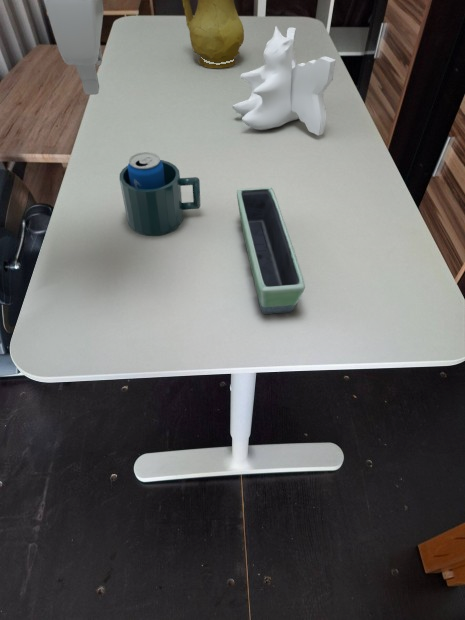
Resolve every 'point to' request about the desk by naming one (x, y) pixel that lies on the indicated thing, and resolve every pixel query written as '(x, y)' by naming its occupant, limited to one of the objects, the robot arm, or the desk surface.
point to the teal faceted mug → (158, 202)
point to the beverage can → (146, 171)
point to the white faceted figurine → (286, 88)
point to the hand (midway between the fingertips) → (94, 77)
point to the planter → (269, 251)
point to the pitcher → (215, 31)
